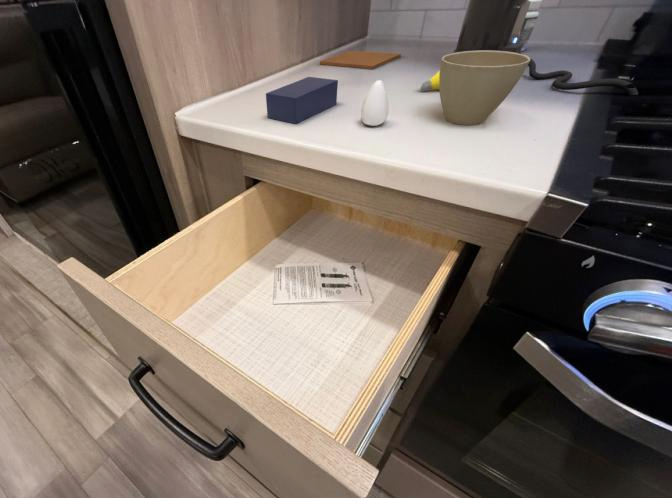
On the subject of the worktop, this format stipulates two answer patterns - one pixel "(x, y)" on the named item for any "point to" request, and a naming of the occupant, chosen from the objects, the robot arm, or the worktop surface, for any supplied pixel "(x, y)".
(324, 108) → the navy rectangular block
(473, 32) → the robot arm
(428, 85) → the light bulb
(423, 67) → the worktop surface
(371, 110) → the egg
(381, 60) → the mat
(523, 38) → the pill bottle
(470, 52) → the flower pot
